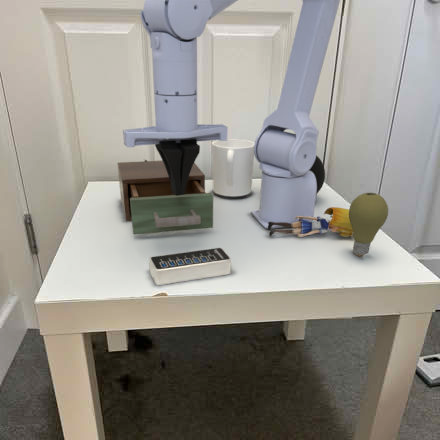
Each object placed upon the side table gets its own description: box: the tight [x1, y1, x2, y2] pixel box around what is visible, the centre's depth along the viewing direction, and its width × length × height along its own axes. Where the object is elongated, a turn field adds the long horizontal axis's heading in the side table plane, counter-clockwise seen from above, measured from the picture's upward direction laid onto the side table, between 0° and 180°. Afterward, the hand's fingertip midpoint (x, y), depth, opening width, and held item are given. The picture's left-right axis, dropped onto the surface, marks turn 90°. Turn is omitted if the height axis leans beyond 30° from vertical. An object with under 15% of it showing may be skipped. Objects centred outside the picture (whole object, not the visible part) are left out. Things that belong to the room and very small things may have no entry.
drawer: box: [129, 180, 214, 235], centre depth 76 cm, size 15×13×6 cm
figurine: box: [267, 206, 353, 238], centre depth 76 cm, size 5×5×15 cm
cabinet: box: [117, 160, 206, 222], centre depth 86 cm, size 12×15×8 cm
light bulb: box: [348, 192, 389, 258], centre depth 68 cm, size 6×6×10 cm
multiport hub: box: [148, 247, 232, 286], centre depth 64 cm, size 4×11×2 cm, turn 110°
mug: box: [211, 138, 255, 200], centre depth 93 cm, size 11×9×10 cm
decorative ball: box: [309, 154, 326, 195], centre depth 91 cm, size 10×10×10 cm
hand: (178, 193), depth 67 cm, fingers closed
